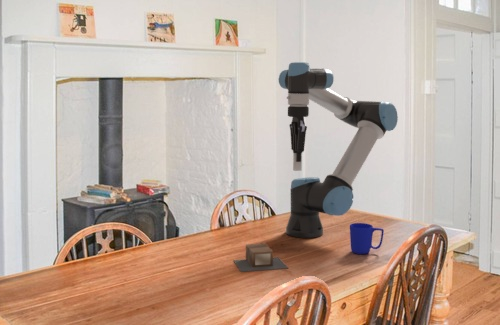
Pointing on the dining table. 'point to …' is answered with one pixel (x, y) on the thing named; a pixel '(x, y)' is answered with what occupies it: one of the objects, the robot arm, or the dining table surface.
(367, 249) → the mug
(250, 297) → the dining table surface
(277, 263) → the mat
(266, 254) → the walnut block
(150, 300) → the dining table surface
